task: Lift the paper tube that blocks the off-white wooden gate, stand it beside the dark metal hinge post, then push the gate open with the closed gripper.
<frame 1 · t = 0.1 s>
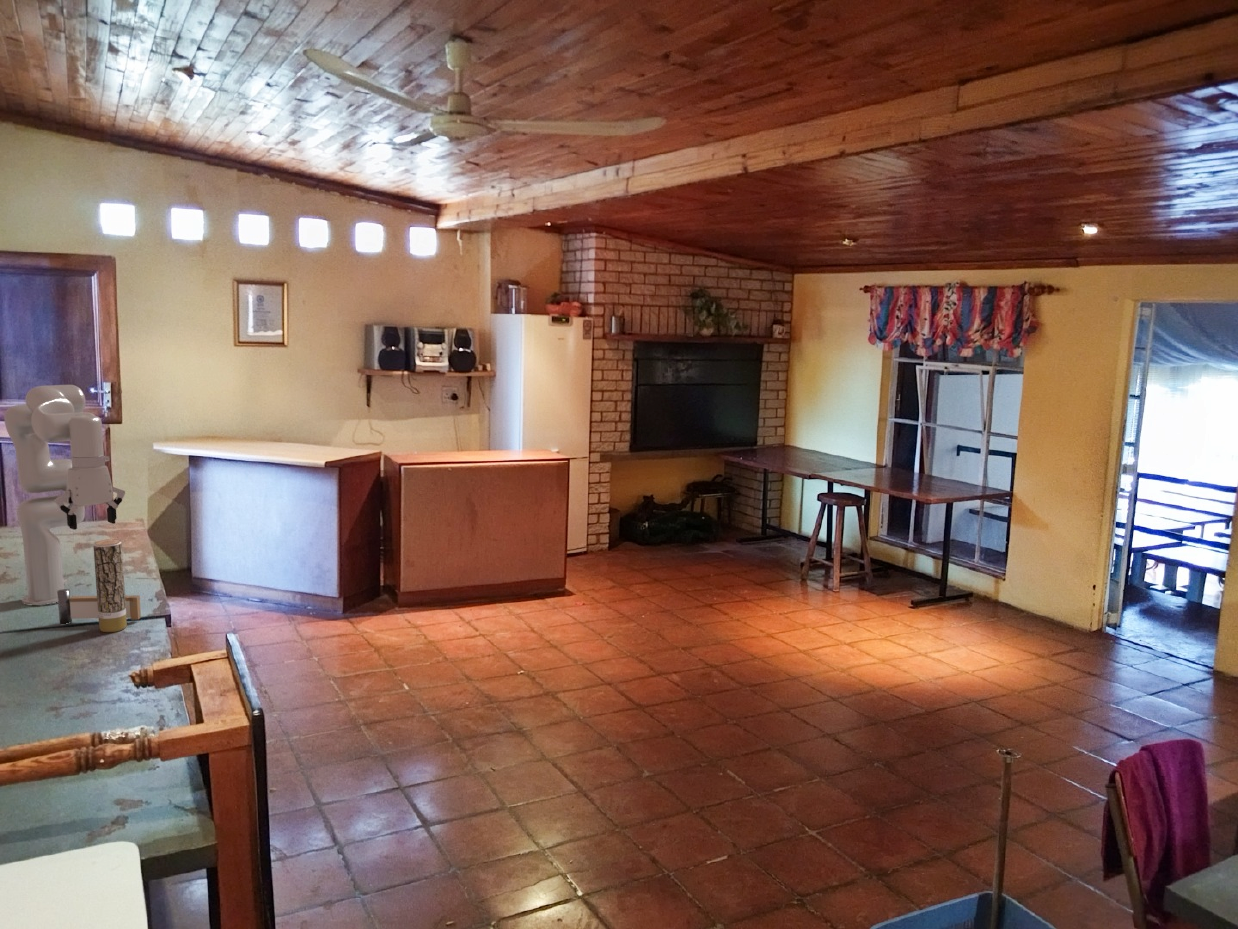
hand: (92, 525, 248), 31 cm above the table, tool pointing down, fingers open, 9 cm apart
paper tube: (113, 629, 259), on the table
hinge post: (65, 623, 263), on the table
gate: (105, 608, 263), point 4 cm above the table, hinge at 0.0°
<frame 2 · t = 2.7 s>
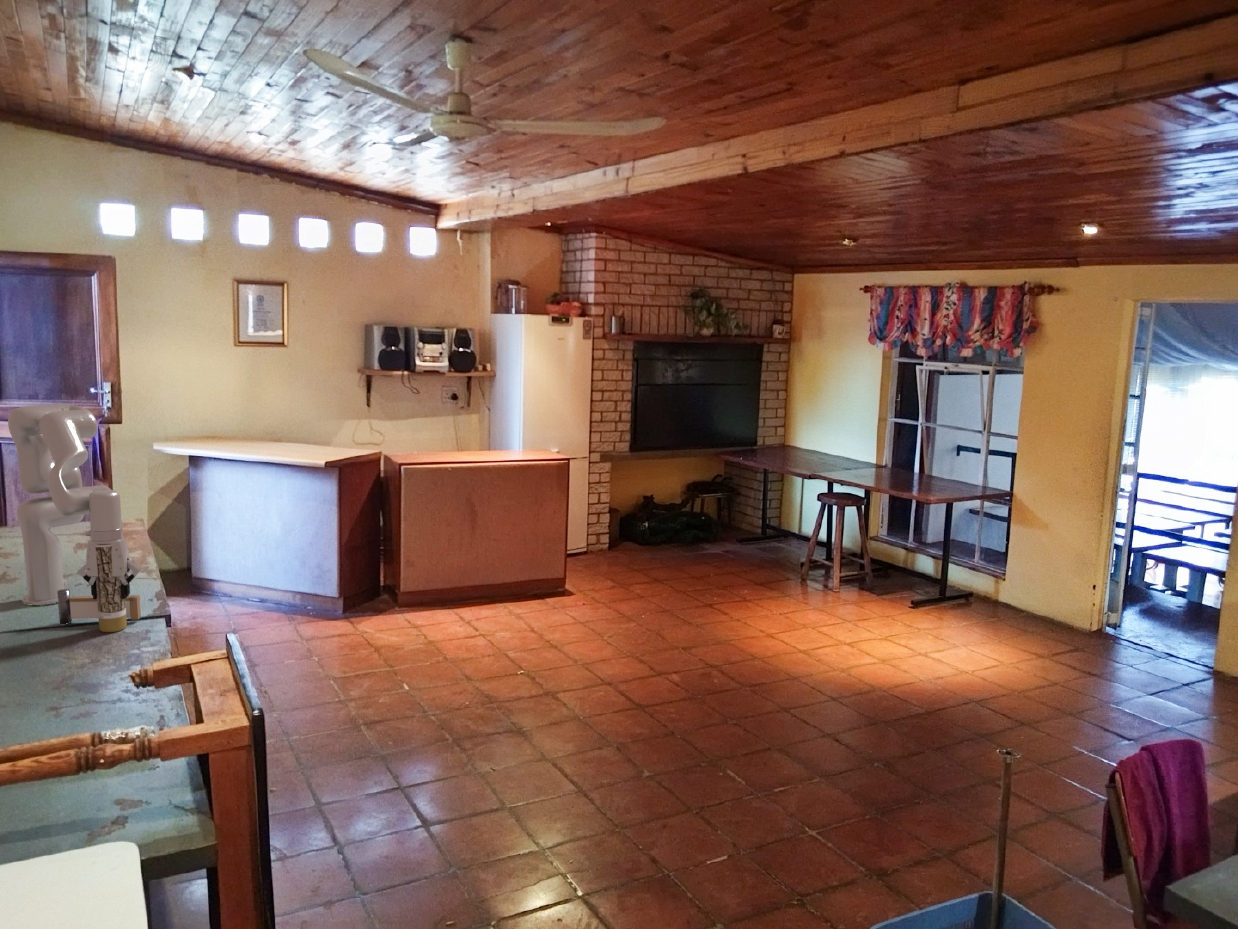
hand: (111, 597, 257), 9 cm above the table, tool pointing down, fingers closed on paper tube, 6 cm apart
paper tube: (113, 629, 259), on the table, touching gripper
everything else where it was.
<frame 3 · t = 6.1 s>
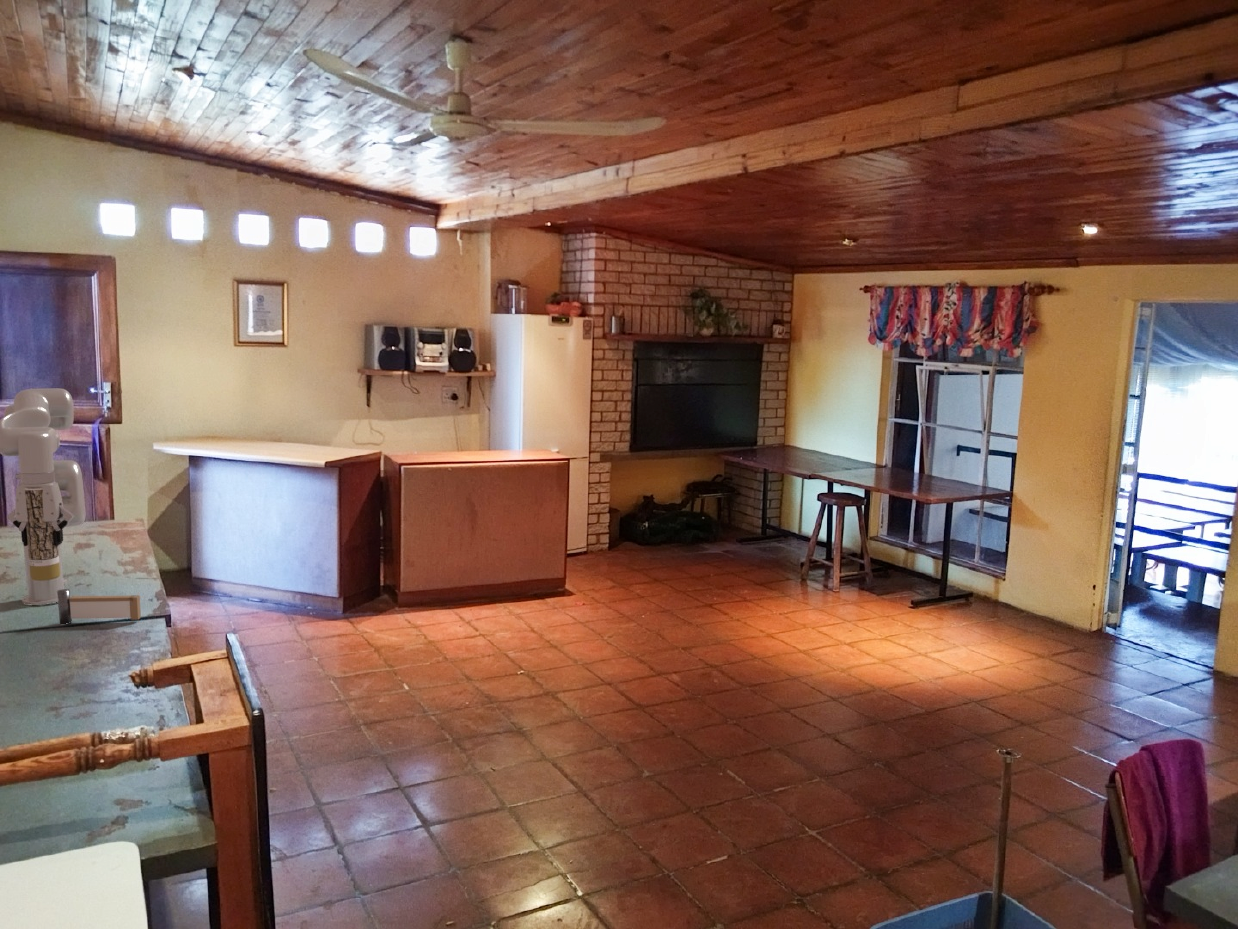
hand: (43, 544, 245), 26 cm above the table, tool pointing down, fingers closed on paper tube, 6 cm apart
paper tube: (45, 578, 247), point 17 cm above the table, touching gripper
everything else where it was.
when the fingers open (10 cm above the table, at t = 9.8 s): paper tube stays where it is, on the table.
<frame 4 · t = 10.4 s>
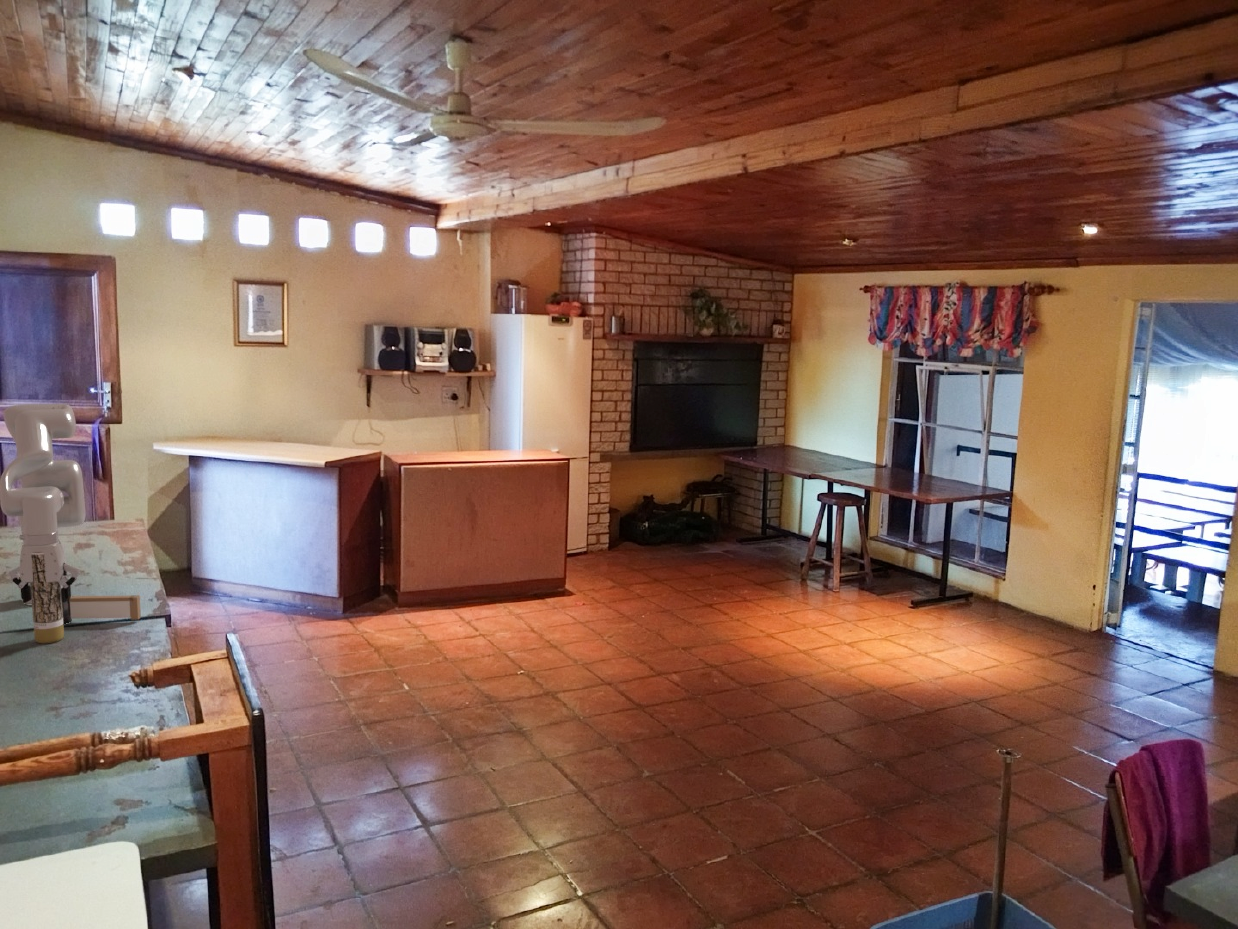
hand: (46, 601, 248), 11 cm above the table, tool pointing down, fingers open, 9 cm apart
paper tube: (49, 640, 249), on the table
everything else where it was.
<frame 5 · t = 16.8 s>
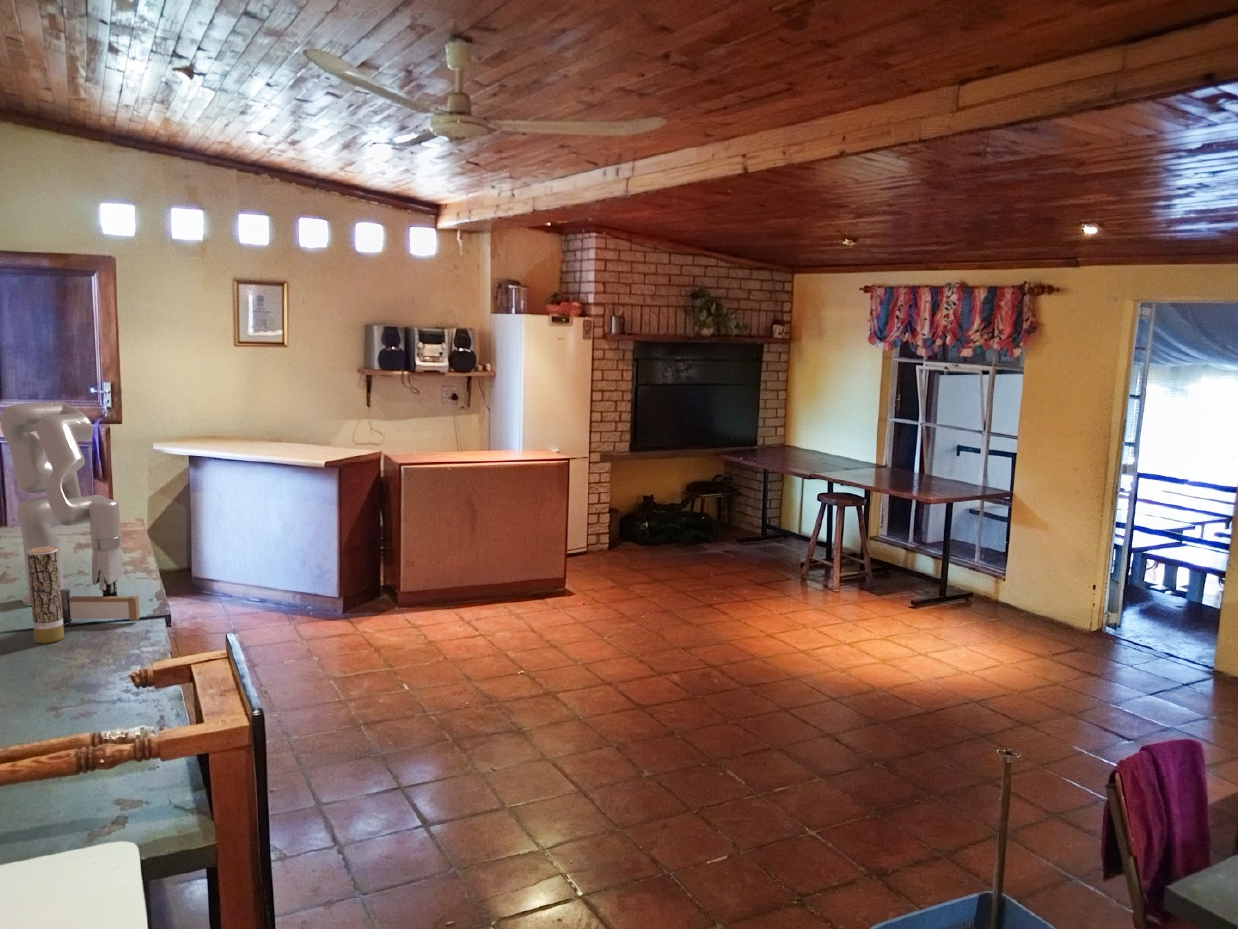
hand: (110, 605, 266), 4 cm above the table, tool pointing down, fingers closed
gate: (104, 608, 263), point 4 cm above the table, hinge at 2.5°, touching gripper
everything else where it was.
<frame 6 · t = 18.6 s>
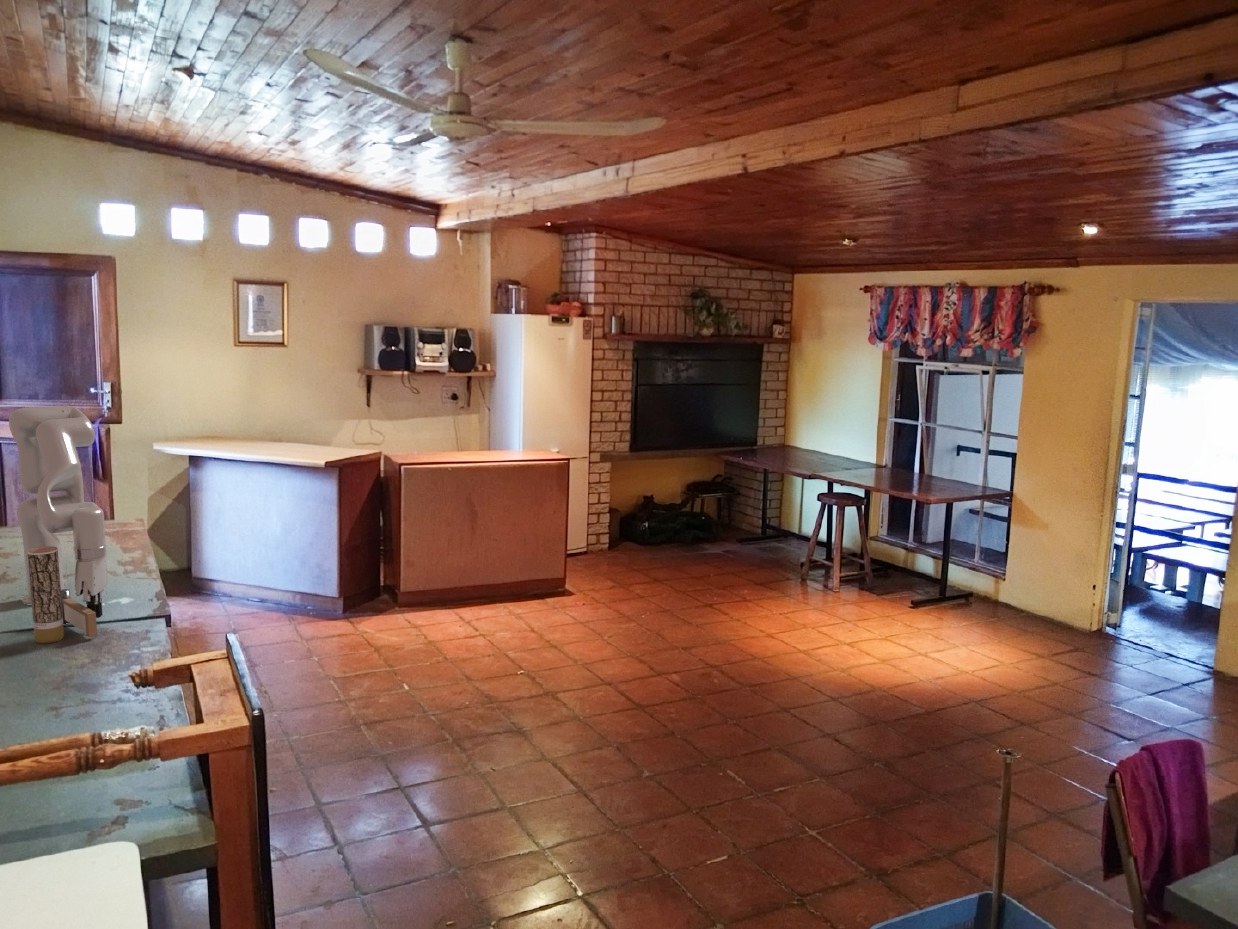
hand: (95, 616, 256), 4 cm above the table, tool pointing down, fingers closed
gate: (79, 617, 255), point 4 cm above the table, hinge at 47.7°
everything else where it was.
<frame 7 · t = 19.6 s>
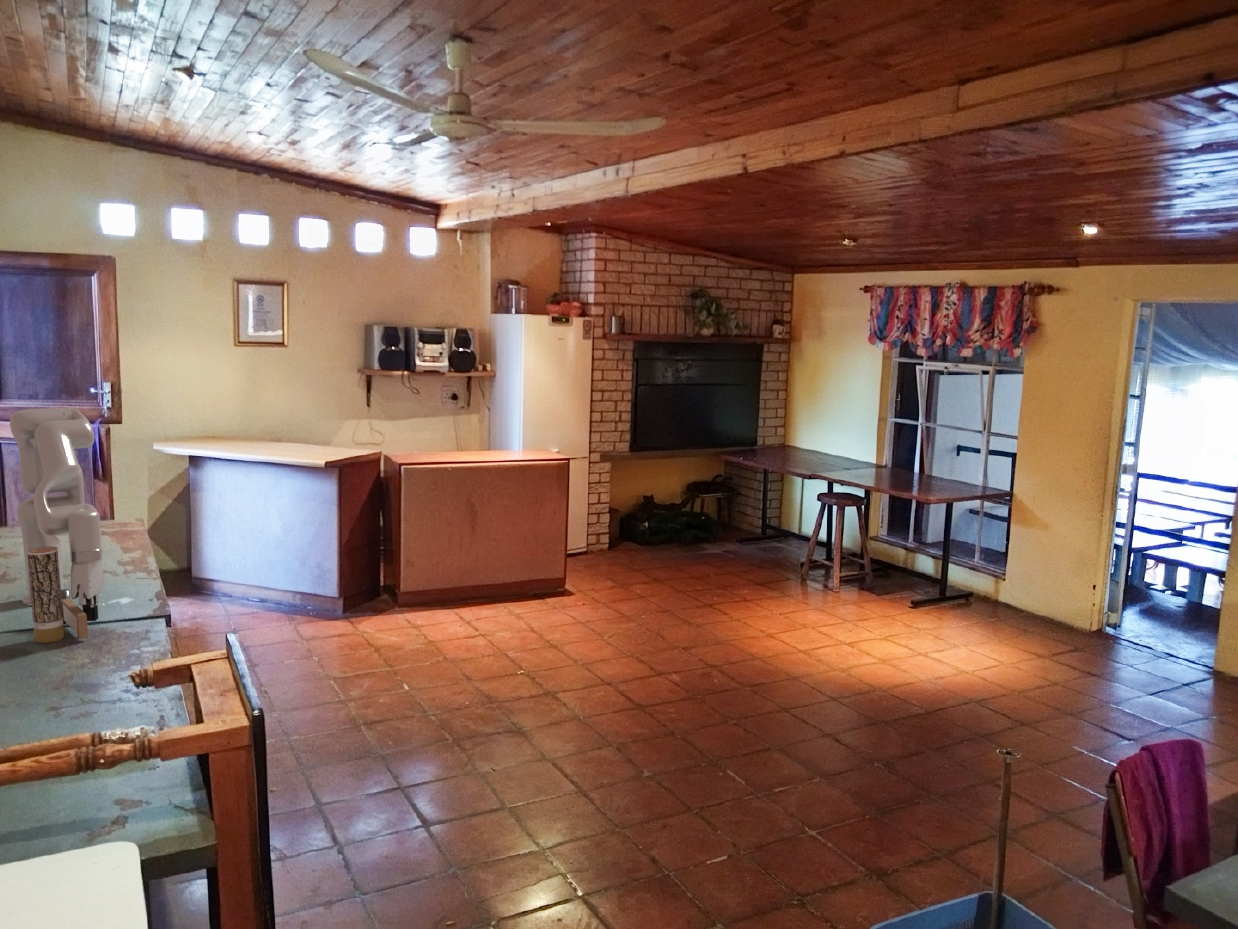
hand: (91, 620, 254), 4 cm above the table, tool pointing down, fingers closed
gate: (74, 618, 254), point 4 cm above the table, hinge at 54.3°, touching gripper
everything else where it was.
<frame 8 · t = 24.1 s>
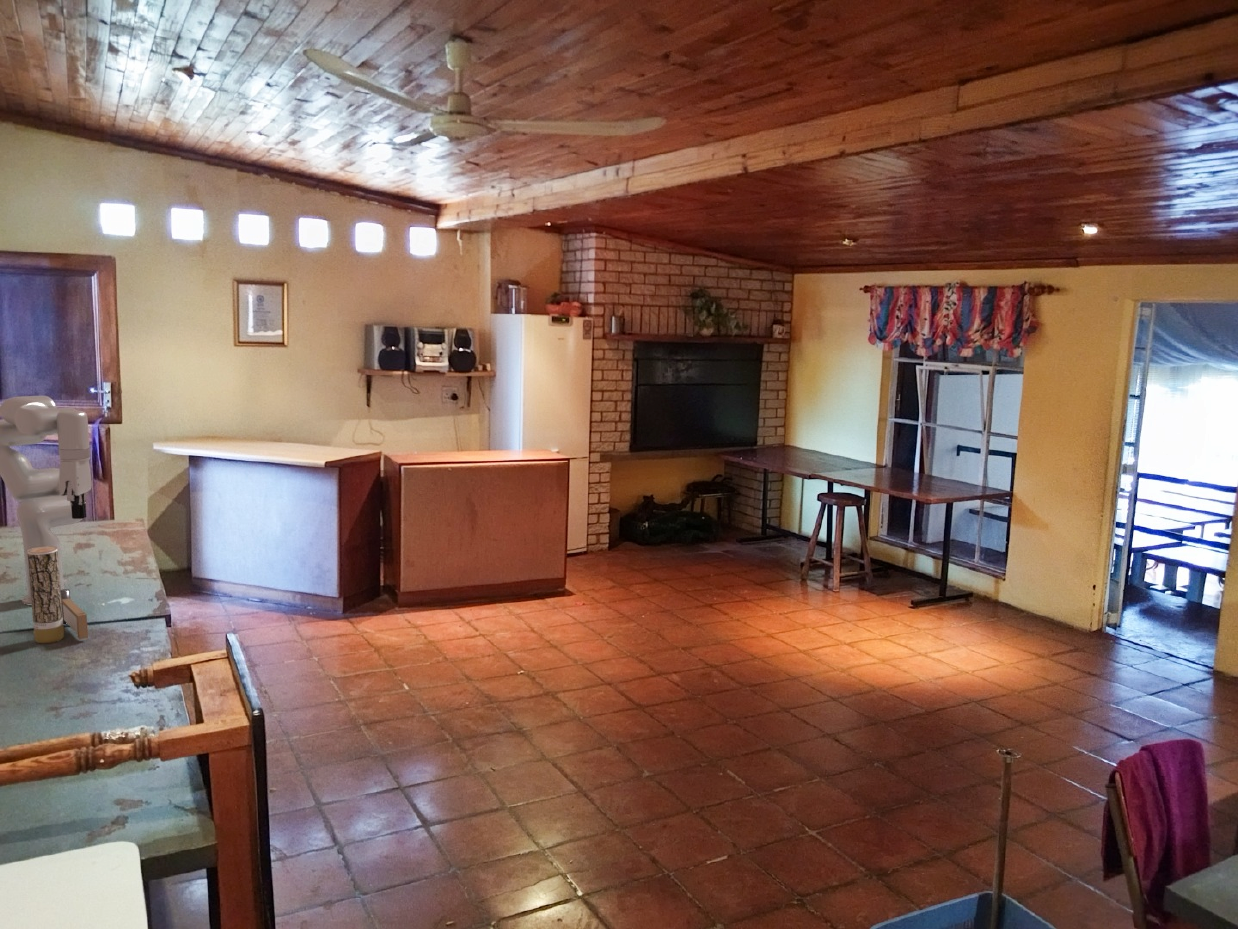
hand: (79, 517, 264), 29 cm above the table, tool pointing down, fingers closed
gate: (74, 618, 254), point 4 cm above the table, hinge at 54.4°
everything else where it was.
at the end: gate at +54° (first picture: +0°); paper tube inside the target area (0.2 cm from its centre), on the table; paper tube tilted 0° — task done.
